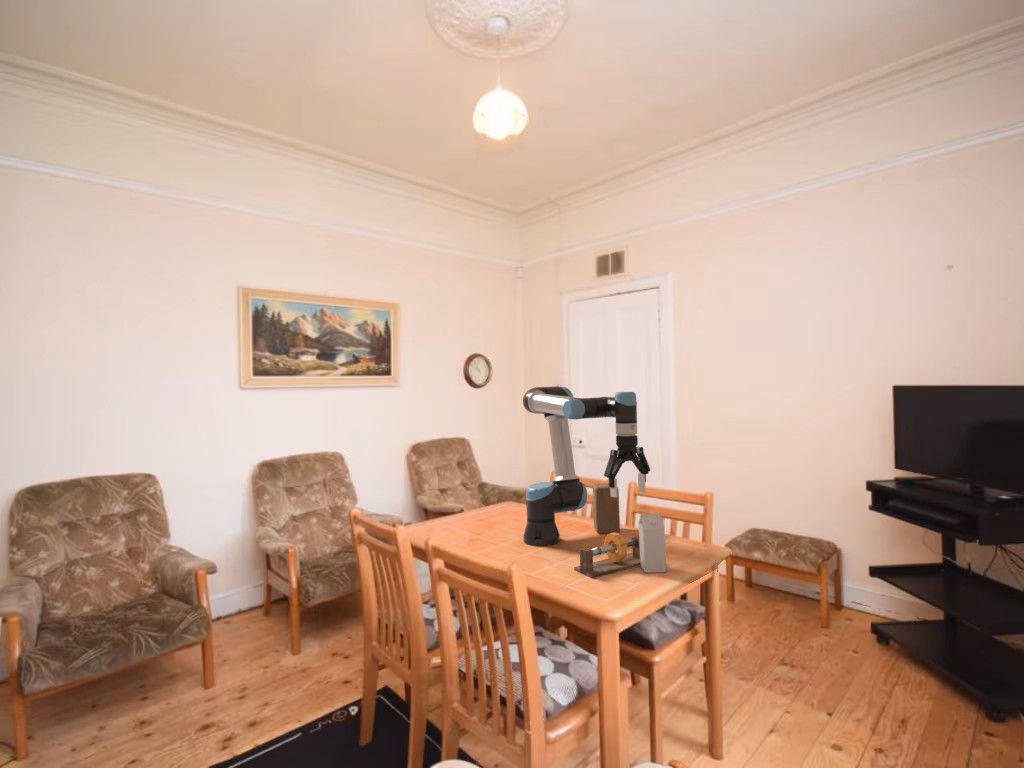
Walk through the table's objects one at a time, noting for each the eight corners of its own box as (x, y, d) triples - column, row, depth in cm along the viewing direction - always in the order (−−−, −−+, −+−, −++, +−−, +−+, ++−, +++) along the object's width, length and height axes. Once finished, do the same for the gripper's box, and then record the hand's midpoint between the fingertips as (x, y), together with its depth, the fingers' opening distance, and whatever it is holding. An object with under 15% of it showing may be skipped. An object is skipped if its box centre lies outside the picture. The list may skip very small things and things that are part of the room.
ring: (604, 557, 183) (603, 531, 184) (609, 556, 185) (608, 530, 185) (622, 564, 175) (621, 537, 176) (627, 563, 177) (626, 536, 177)
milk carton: (640, 566, 179) (638, 511, 179) (660, 565, 179) (658, 510, 179) (644, 573, 172) (642, 516, 172) (666, 572, 171) (664, 515, 172)
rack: (574, 570, 177) (573, 546, 177) (632, 555, 191) (631, 533, 191) (592, 578, 168) (592, 554, 168) (652, 562, 182) (651, 539, 182)
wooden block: (620, 533, 220) (618, 486, 220) (597, 534, 220) (595, 487, 220) (616, 527, 230) (614, 482, 230) (593, 528, 230) (592, 483, 230)
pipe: (583, 556, 175) (583, 549, 175) (635, 544, 187) (635, 537, 187) (588, 558, 172) (588, 551, 172) (641, 545, 184) (640, 538, 185)
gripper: (607, 438, 174) (608, 501, 174) (659, 433, 186) (660, 491, 186) (592, 436, 180) (594, 497, 180) (644, 431, 193) (645, 488, 193)
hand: (628, 494), depth 183 cm, fingers open, 13 cm apart
